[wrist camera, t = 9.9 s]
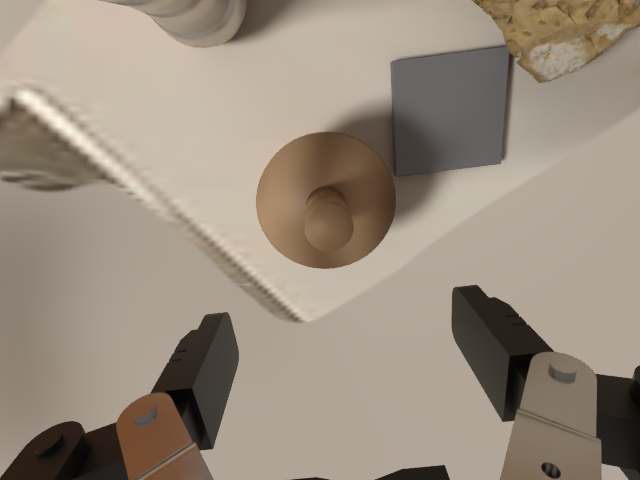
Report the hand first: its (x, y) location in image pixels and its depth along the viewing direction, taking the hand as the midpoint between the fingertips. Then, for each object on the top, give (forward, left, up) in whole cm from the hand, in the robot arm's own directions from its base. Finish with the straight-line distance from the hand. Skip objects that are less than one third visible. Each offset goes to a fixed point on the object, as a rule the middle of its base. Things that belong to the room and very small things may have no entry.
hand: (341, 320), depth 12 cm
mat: (-11, -5, -20) cm, 23 cm away
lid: (0, 0, -16) cm, 16 cm away
